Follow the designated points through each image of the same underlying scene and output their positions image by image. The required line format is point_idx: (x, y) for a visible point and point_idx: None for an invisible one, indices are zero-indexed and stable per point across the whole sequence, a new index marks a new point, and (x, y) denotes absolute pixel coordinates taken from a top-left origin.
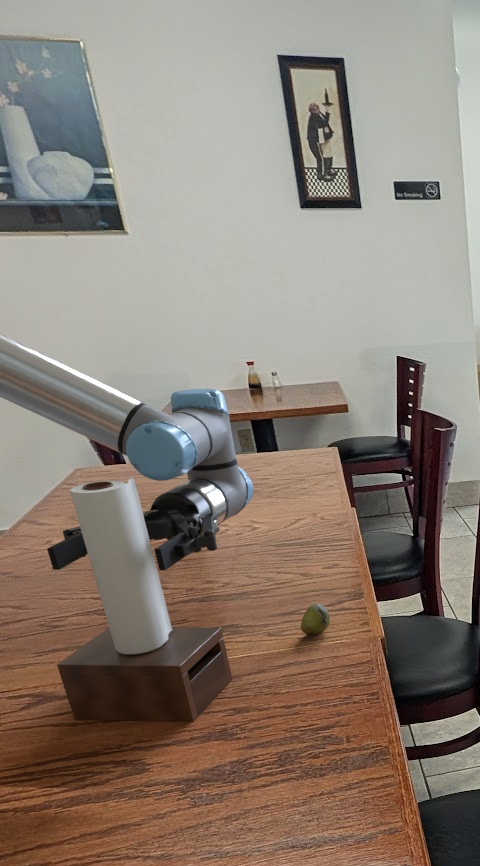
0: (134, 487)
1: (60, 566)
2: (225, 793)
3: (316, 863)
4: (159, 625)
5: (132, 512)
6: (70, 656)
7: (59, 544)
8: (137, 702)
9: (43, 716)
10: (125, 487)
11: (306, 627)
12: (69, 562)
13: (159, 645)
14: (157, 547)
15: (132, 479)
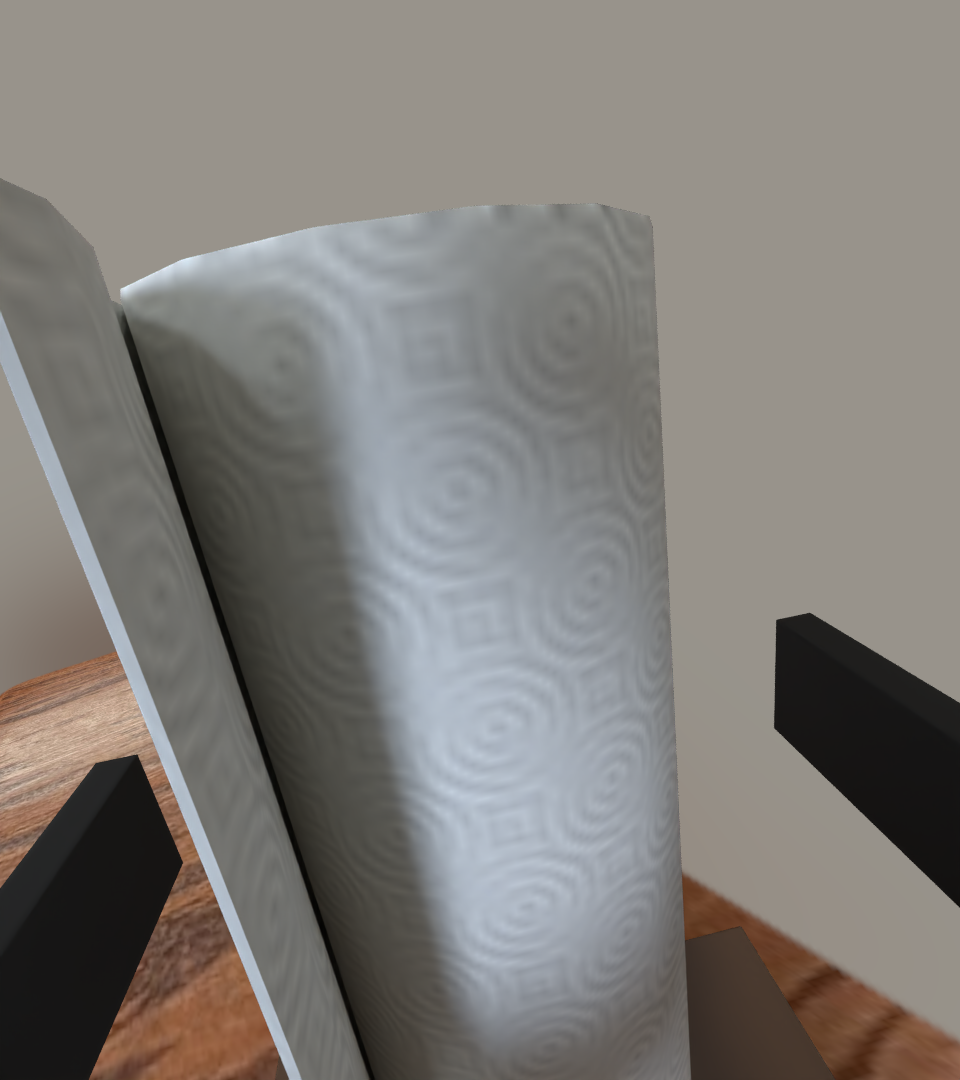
0: (90, 454)
1: (786, 729)
2: (182, 888)
3: (50, 803)
4: None
5: (215, 607)
6: (774, 999)
7: (848, 658)
8: None
9: (867, 1062)
10: (130, 337)
11: None
12: (846, 791)
13: None
14: (117, 779)
15: (10, 237)
